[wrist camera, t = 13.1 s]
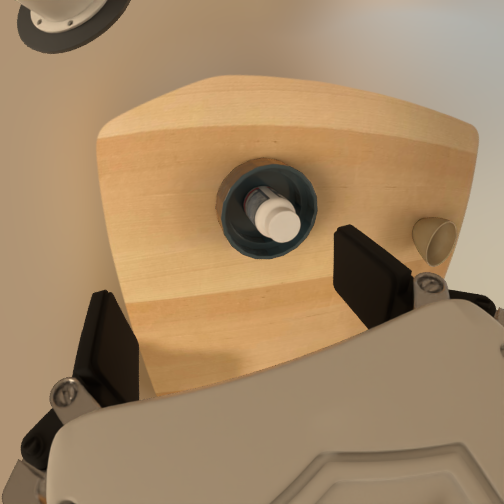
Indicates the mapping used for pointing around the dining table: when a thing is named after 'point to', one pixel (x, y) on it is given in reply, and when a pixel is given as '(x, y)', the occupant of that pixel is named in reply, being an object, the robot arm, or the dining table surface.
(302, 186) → the bowl
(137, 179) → the dining table surface
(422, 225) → the flower pot
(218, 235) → the dining table surface
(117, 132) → the dining table surface
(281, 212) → the pill bottle
